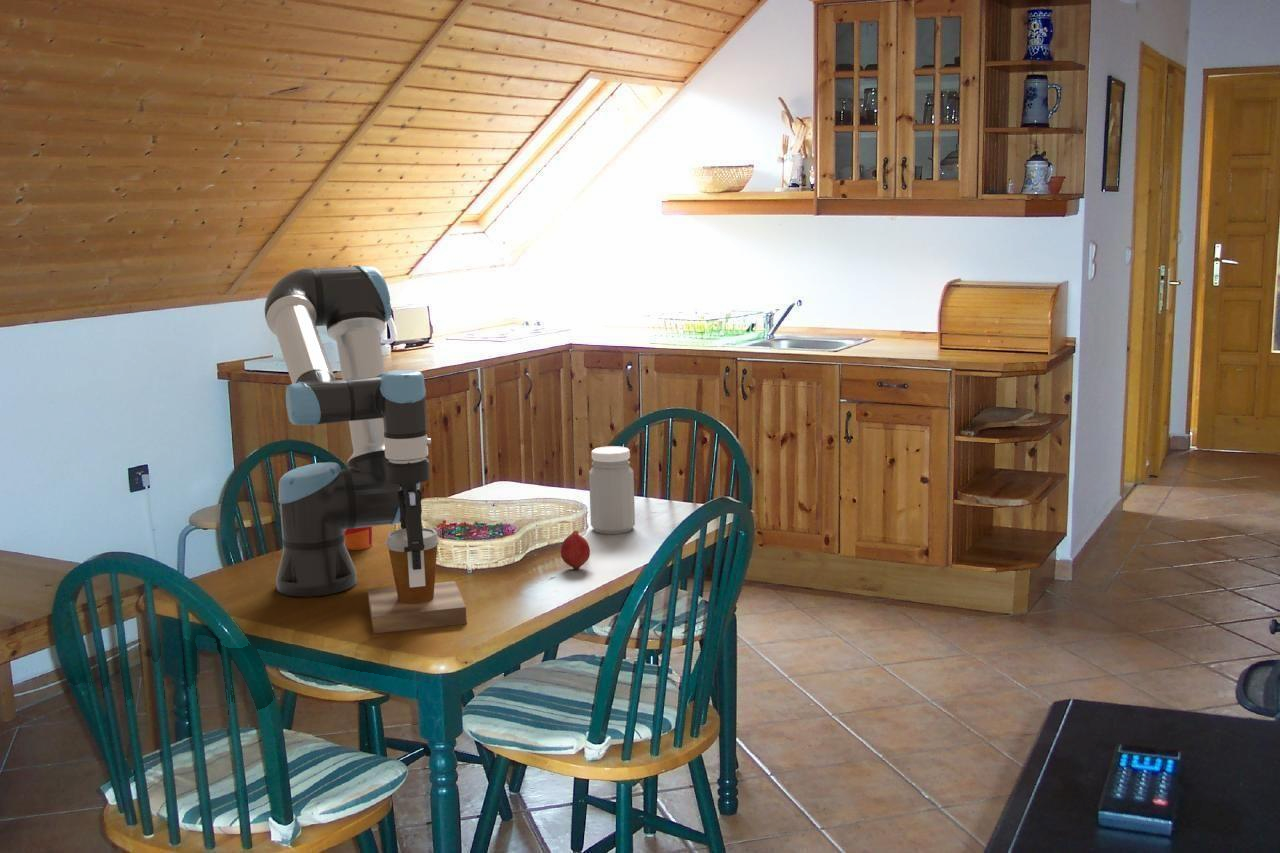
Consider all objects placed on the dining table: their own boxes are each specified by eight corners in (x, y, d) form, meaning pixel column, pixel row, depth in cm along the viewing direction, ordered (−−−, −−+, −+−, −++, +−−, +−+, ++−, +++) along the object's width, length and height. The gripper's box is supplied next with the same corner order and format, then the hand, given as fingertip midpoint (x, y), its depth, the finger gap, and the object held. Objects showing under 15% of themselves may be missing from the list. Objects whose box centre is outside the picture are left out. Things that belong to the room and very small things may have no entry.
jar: (589, 535, 283) (586, 454, 280) (592, 524, 293) (589, 445, 290) (634, 535, 283) (631, 454, 280) (635, 523, 293) (633, 444, 289)
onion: (561, 573, 256) (559, 534, 255) (561, 565, 262) (560, 526, 260) (590, 572, 256) (589, 533, 255) (590, 564, 262) (589, 525, 260)
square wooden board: (368, 605, 239) (367, 589, 239) (455, 596, 243) (455, 581, 243) (373, 633, 224) (372, 616, 224) (466, 623, 228) (465, 607, 228)
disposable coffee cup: (431, 608, 227) (428, 541, 225) (380, 605, 229) (376, 539, 227) (450, 591, 237) (446, 527, 234) (400, 589, 239) (397, 526, 236)
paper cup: (355, 540, 285) (351, 477, 282) (384, 543, 281) (380, 480, 279) (332, 549, 278) (327, 485, 275) (361, 553, 274) (357, 488, 272)
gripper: (436, 471, 218) (442, 593, 222) (422, 444, 241) (428, 554, 245) (390, 475, 216) (398, 598, 220) (381, 446, 240) (388, 558, 243)
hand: (414, 575), depth 233 cm, fingers open, 13 cm apart
